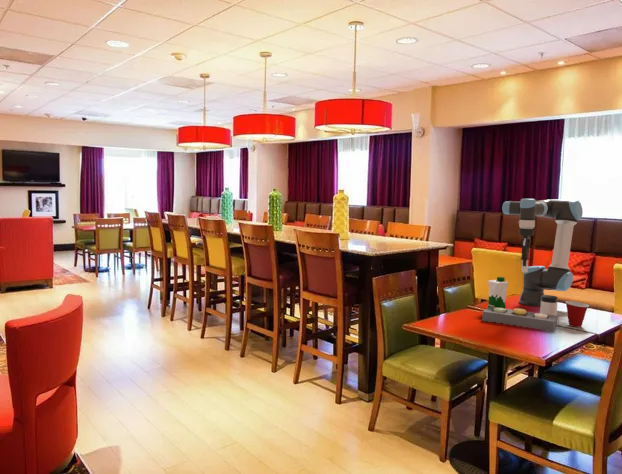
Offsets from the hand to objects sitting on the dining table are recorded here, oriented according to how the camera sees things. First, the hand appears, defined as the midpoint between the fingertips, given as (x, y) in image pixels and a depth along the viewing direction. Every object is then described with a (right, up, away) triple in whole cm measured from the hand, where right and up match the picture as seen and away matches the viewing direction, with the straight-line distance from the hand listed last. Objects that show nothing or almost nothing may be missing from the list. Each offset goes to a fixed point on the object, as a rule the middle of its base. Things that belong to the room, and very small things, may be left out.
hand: (524, 271), depth 265 cm
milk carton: (-10, -24, +14) cm, 30 cm away
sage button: (-14, -21, -3) cm, 26 cm away
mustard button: (-6, -21, -8) cm, 23 cm away
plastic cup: (+22, -27, -11) cm, 36 cm away
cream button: (+3, -23, -13) cm, 27 cm away
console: (-6, -26, -8) cm, 28 cm away
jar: (+14, -26, +3) cm, 29 cm away
